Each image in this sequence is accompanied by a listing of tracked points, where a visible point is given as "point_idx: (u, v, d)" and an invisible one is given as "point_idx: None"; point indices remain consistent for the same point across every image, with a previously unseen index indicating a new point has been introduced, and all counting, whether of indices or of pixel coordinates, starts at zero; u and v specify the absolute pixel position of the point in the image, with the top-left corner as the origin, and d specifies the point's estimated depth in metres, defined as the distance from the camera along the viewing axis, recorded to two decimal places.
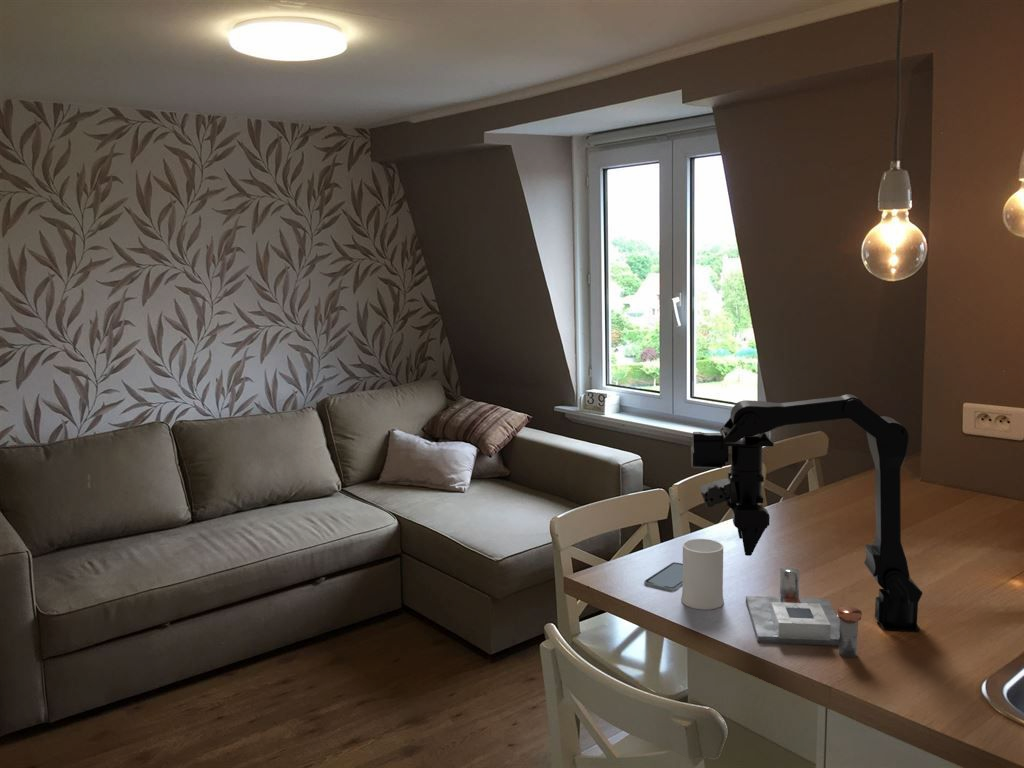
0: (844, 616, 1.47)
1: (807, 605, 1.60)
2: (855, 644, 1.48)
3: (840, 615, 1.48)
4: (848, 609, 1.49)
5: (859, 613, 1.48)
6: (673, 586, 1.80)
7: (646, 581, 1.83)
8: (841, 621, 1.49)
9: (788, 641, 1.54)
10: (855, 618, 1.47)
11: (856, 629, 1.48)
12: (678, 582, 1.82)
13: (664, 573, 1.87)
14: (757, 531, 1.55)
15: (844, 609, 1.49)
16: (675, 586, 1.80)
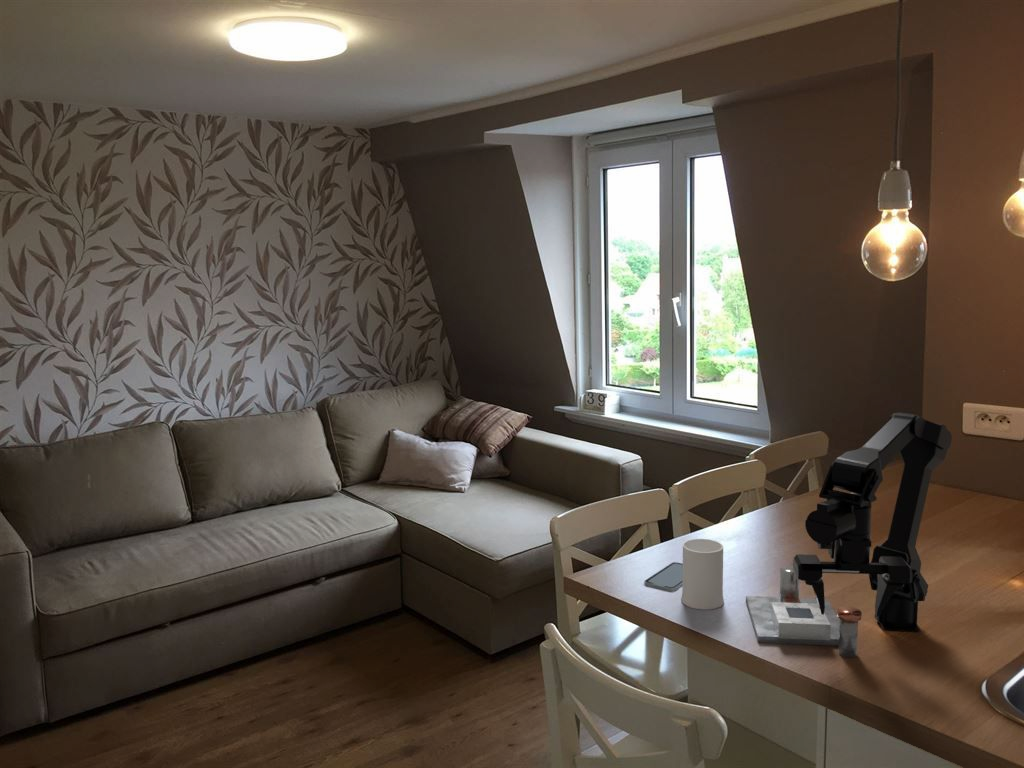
0: (844, 616, 1.47)
1: (807, 605, 1.60)
2: (855, 644, 1.48)
3: (840, 615, 1.48)
4: (848, 609, 1.49)
5: (859, 613, 1.48)
6: (673, 586, 1.80)
7: (646, 581, 1.83)
8: (841, 621, 1.49)
9: (788, 641, 1.54)
10: (855, 618, 1.47)
11: (856, 629, 1.48)
12: (678, 582, 1.82)
13: (664, 573, 1.87)
14: None
15: (844, 609, 1.49)
16: (675, 586, 1.80)
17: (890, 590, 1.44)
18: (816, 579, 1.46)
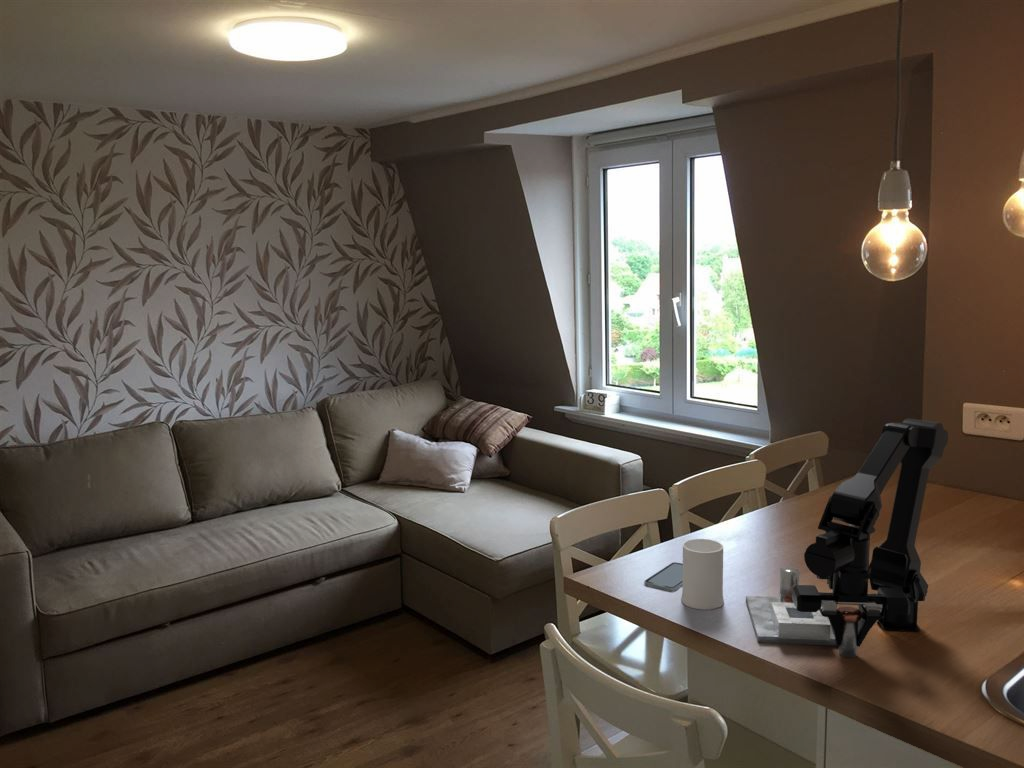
0: (844, 616, 1.47)
1: None
2: (855, 644, 1.48)
3: (840, 615, 1.48)
4: (848, 609, 1.49)
5: (859, 613, 1.48)
6: (673, 586, 1.80)
7: (646, 581, 1.83)
8: (841, 621, 1.49)
9: (788, 641, 1.54)
10: (855, 618, 1.47)
11: (856, 629, 1.48)
12: (678, 582, 1.82)
13: (664, 573, 1.87)
14: None
15: (844, 609, 1.49)
16: (675, 586, 1.80)
17: (871, 621, 1.46)
18: (815, 610, 1.46)
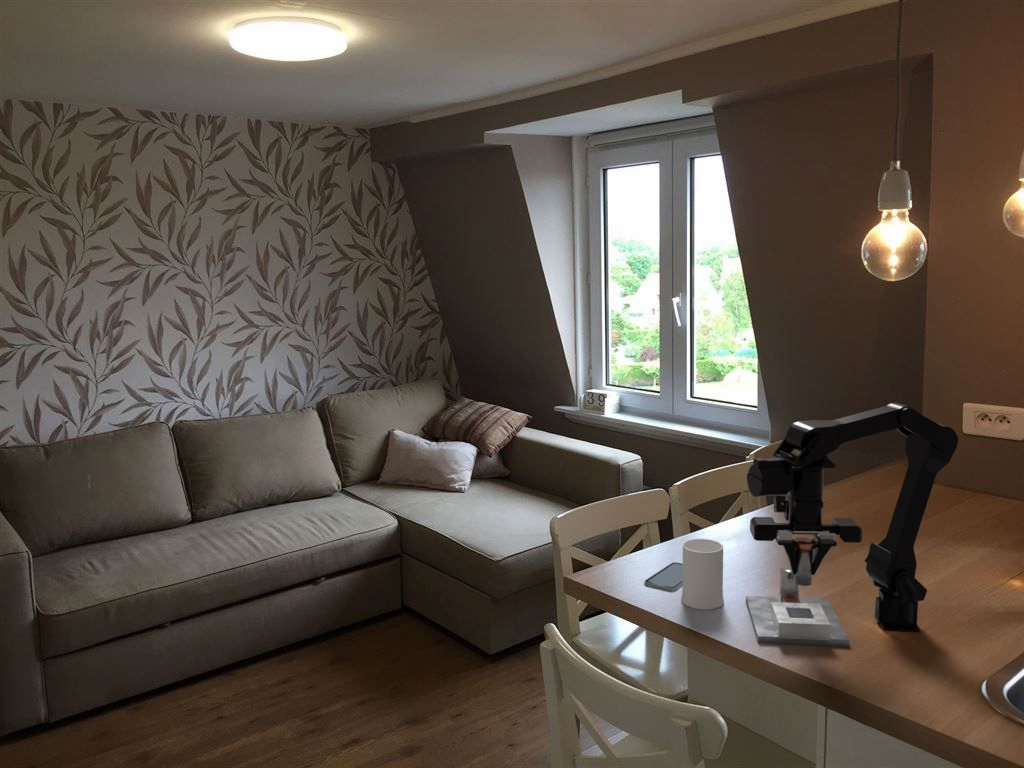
0: (799, 545, 1.53)
1: (807, 605, 1.60)
2: (810, 572, 1.54)
3: (795, 544, 1.53)
4: (804, 539, 1.55)
5: (814, 542, 1.53)
6: (673, 586, 1.80)
7: (646, 581, 1.83)
8: (797, 550, 1.54)
9: (788, 641, 1.54)
10: (809, 546, 1.52)
11: (811, 558, 1.54)
12: (678, 582, 1.82)
13: (664, 573, 1.87)
14: None
15: (800, 539, 1.55)
16: (675, 586, 1.80)
17: (824, 549, 1.51)
18: (771, 539, 1.52)
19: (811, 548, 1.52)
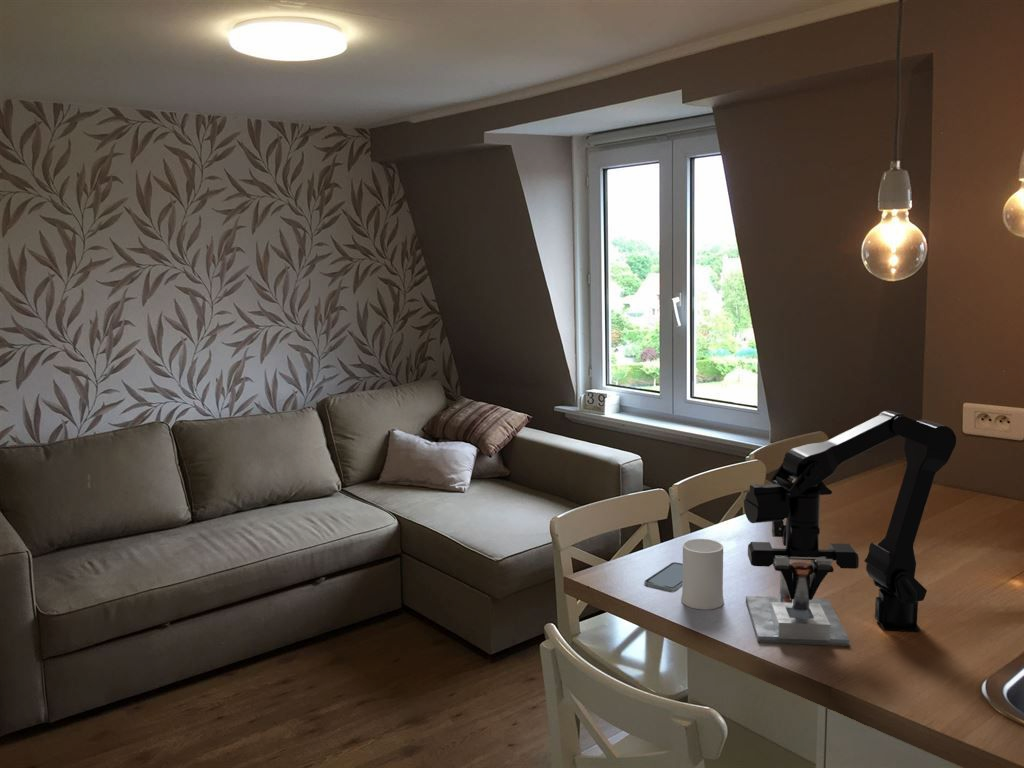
0: (796, 570, 1.54)
1: None
2: (807, 597, 1.55)
3: (793, 570, 1.55)
4: (801, 565, 1.56)
5: (811, 568, 1.55)
6: (673, 586, 1.80)
7: (646, 581, 1.83)
8: (794, 576, 1.56)
9: (788, 641, 1.54)
10: (806, 572, 1.54)
11: (808, 583, 1.55)
12: (678, 582, 1.82)
13: (664, 573, 1.87)
14: None
15: (797, 564, 1.56)
16: (675, 586, 1.80)
17: (821, 575, 1.53)
18: (768, 565, 1.53)
19: (808, 573, 1.54)
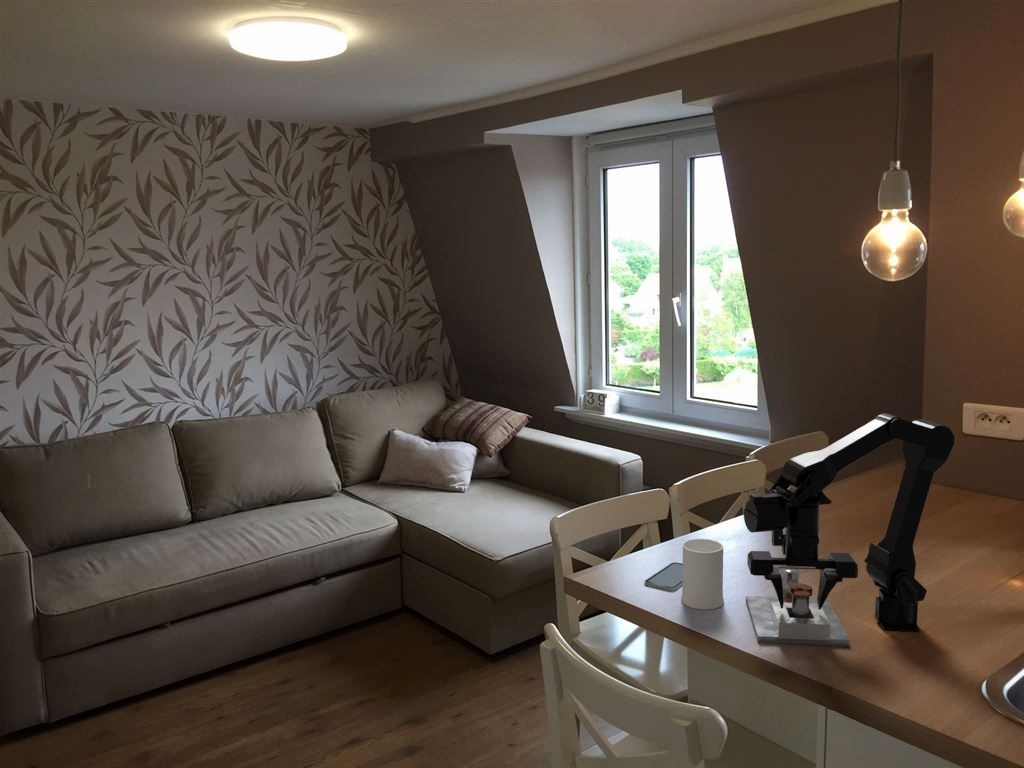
0: (796, 592, 1.55)
1: None
2: None
3: (792, 591, 1.56)
4: (800, 586, 1.57)
5: (810, 589, 1.55)
6: (673, 586, 1.80)
7: (646, 581, 1.83)
8: (793, 597, 1.56)
9: (788, 641, 1.54)
10: (805, 593, 1.54)
11: (807, 604, 1.56)
12: (678, 582, 1.82)
13: (664, 573, 1.87)
14: None
15: (796, 586, 1.57)
16: (675, 586, 1.80)
17: (830, 584, 1.53)
18: (767, 574, 1.54)
19: (807, 595, 1.54)
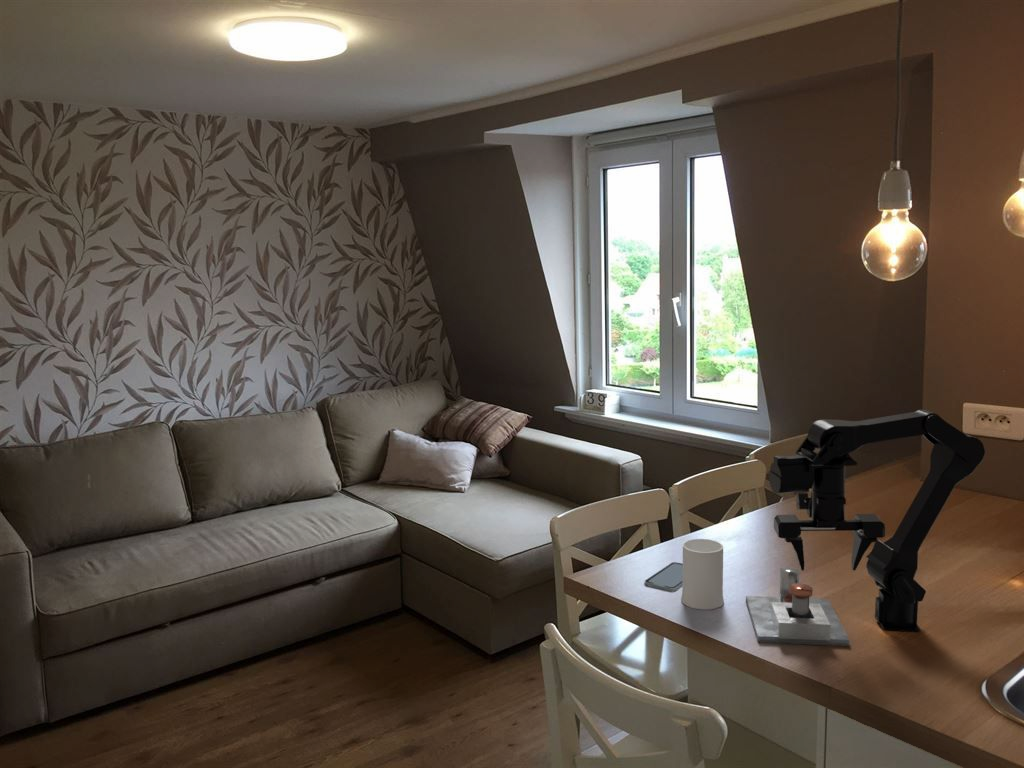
0: (796, 592, 1.55)
1: None
2: None
3: (792, 591, 1.55)
4: (800, 586, 1.57)
5: (810, 589, 1.55)
6: (673, 586, 1.80)
7: (646, 581, 1.83)
8: (793, 597, 1.56)
9: (788, 641, 1.54)
10: (806, 594, 1.54)
11: (807, 604, 1.56)
12: (678, 582, 1.82)
13: (664, 573, 1.87)
14: None
15: (796, 586, 1.57)
16: (675, 586, 1.80)
17: (865, 544, 1.54)
18: (795, 536, 1.55)
19: (807, 595, 1.54)
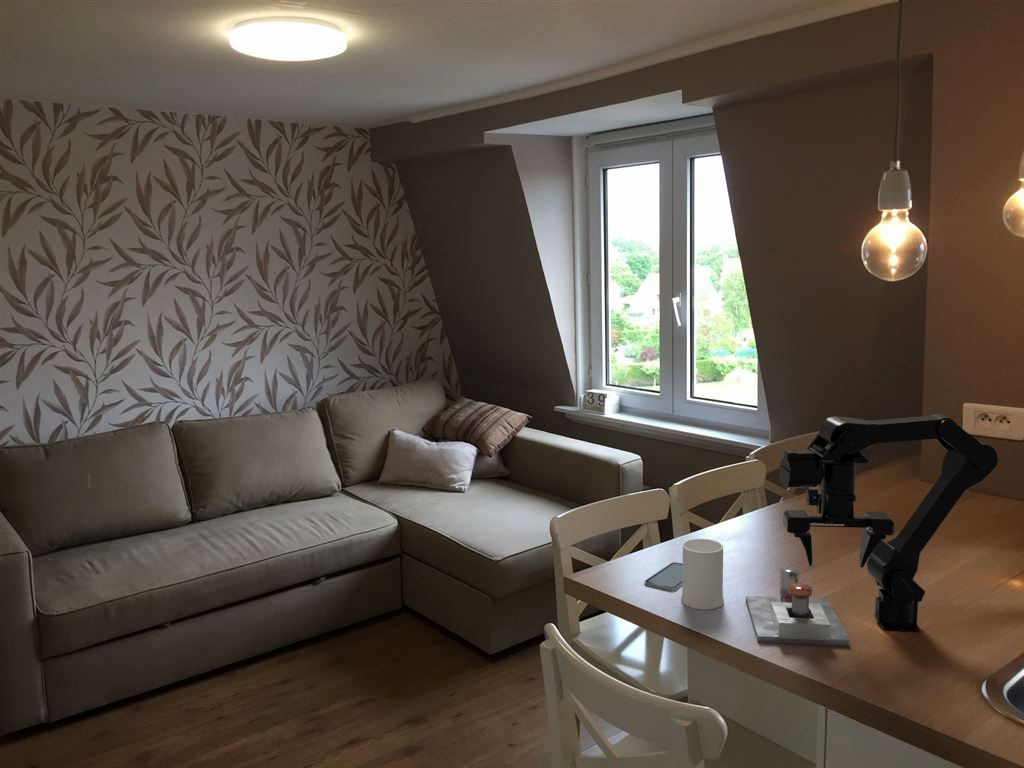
0: (795, 592, 1.55)
1: None
2: None
3: (792, 591, 1.56)
4: (800, 586, 1.57)
5: (810, 589, 1.55)
6: (673, 586, 1.80)
7: (646, 581, 1.83)
8: (793, 597, 1.56)
9: (788, 641, 1.54)
10: (805, 593, 1.54)
11: (807, 604, 1.56)
12: (678, 582, 1.82)
13: (664, 573, 1.87)
14: None
15: (796, 585, 1.57)
16: (675, 586, 1.80)
17: (873, 542, 1.54)
18: (804, 532, 1.55)
19: (807, 595, 1.55)
